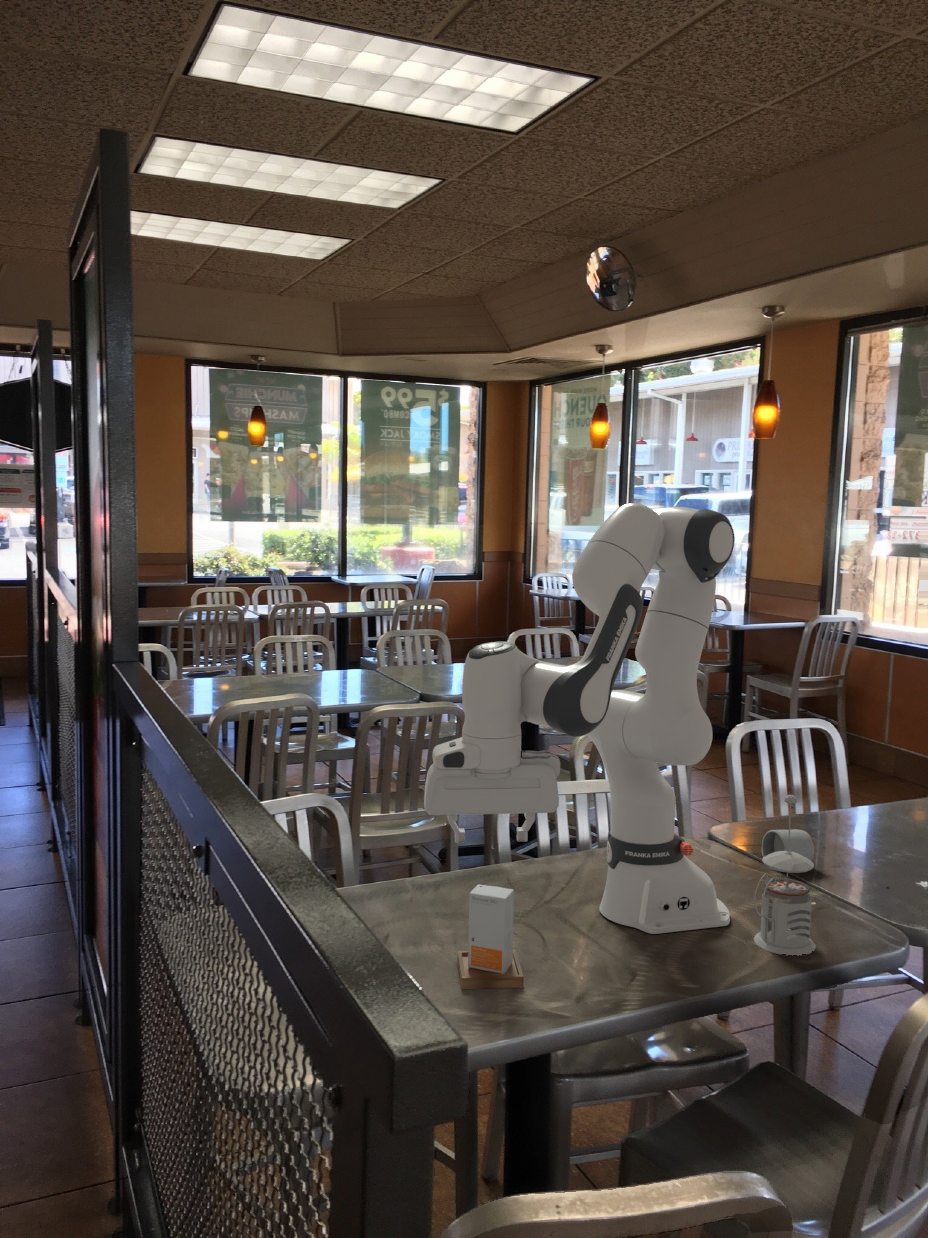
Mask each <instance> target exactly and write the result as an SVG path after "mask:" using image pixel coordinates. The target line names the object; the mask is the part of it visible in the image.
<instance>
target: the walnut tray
mask: <svg viewBox="0 0 928 1238" xmlns="http://www.w3.org/2000/svg"><path fill="white" fill-rule="evenodd" d="M457 968H458V973H459V979H460V980H459V981H460V986H461V987H460V988H461V990H477V989H481V990H482V989H483V990H484V989H511V988H512V989H513V988H524V981H525V979H524V977H525V976H524V973H523V970H522V966H521V963H520V959H519V956H518V952H517V949H513V961H512V964H511V966H510V967H509V968H508V970H507V971H506V973H505V974H500V973H495V972H490V971H485V970H480V969H475V968H468V950H457Z"/></svg>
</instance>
